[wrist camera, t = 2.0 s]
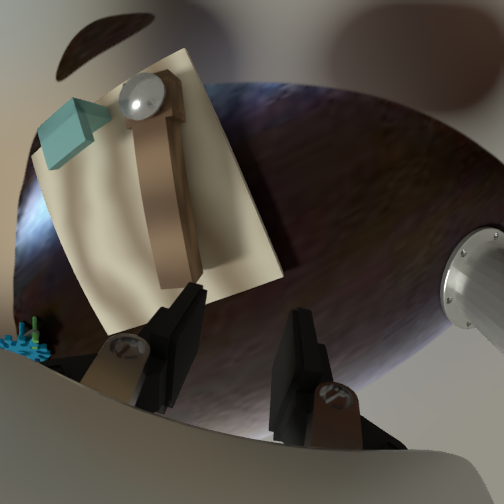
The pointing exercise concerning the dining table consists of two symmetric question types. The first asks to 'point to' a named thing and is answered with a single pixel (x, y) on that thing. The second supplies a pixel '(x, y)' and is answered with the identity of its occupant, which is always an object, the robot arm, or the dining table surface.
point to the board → (133, 217)
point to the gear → (27, 343)
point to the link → (167, 189)
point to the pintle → (142, 96)
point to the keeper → (70, 130)
